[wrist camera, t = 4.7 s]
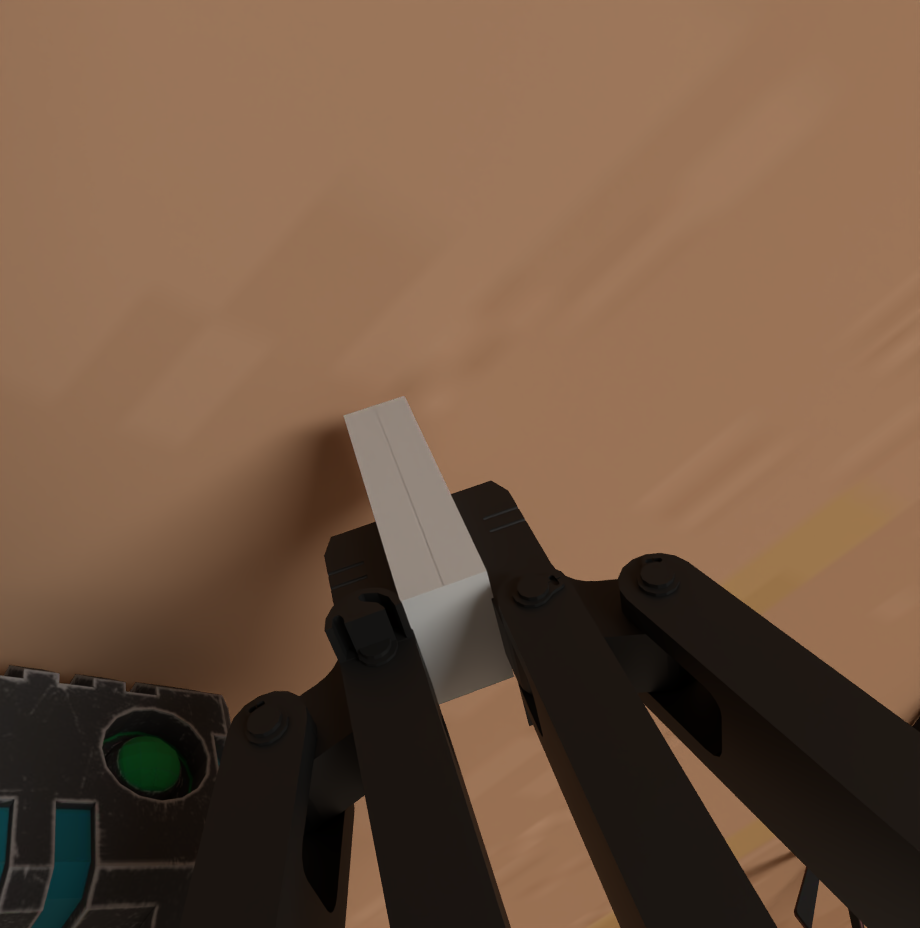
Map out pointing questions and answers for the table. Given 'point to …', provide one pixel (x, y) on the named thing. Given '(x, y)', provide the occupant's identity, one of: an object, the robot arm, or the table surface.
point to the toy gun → (102, 798)
